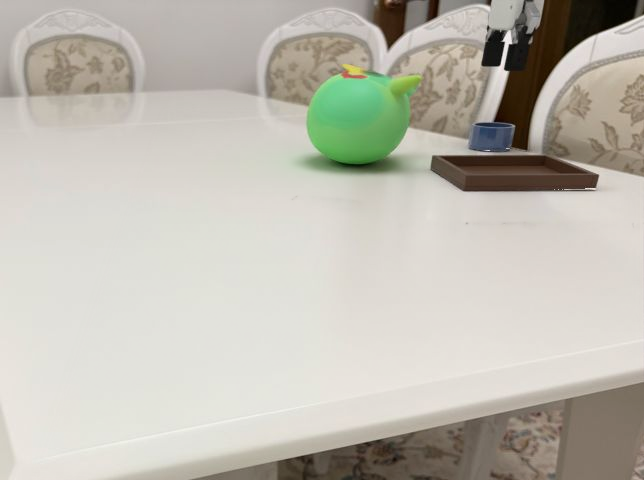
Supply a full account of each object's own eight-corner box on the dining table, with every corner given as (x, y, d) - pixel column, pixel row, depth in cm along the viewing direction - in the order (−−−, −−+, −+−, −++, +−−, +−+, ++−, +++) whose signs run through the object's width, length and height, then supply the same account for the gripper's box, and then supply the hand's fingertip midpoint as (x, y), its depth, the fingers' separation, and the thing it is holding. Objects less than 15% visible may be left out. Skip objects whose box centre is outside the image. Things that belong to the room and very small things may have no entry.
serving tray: (545, 168, 104) (548, 154, 104) (595, 190, 91) (599, 174, 90) (430, 169, 105) (432, 155, 104) (463, 191, 92) (466, 175, 91)
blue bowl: (500, 145, 123) (505, 122, 122) (517, 151, 117) (522, 127, 115) (462, 145, 124) (465, 122, 122) (476, 152, 117) (480, 128, 116)
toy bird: (308, 151, 120) (315, 60, 113) (408, 154, 116) (421, 61, 109) (298, 171, 104) (305, 67, 97) (413, 176, 100) (429, 69, 94)
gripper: (576, -53, 99) (547, 73, 107) (525, -45, 115) (503, 65, 122) (525, -54, 99) (499, 72, 107) (480, -45, 115) (461, 64, 123)
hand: (501, 68), depth 115 cm, fingers open, 9 cm apart
